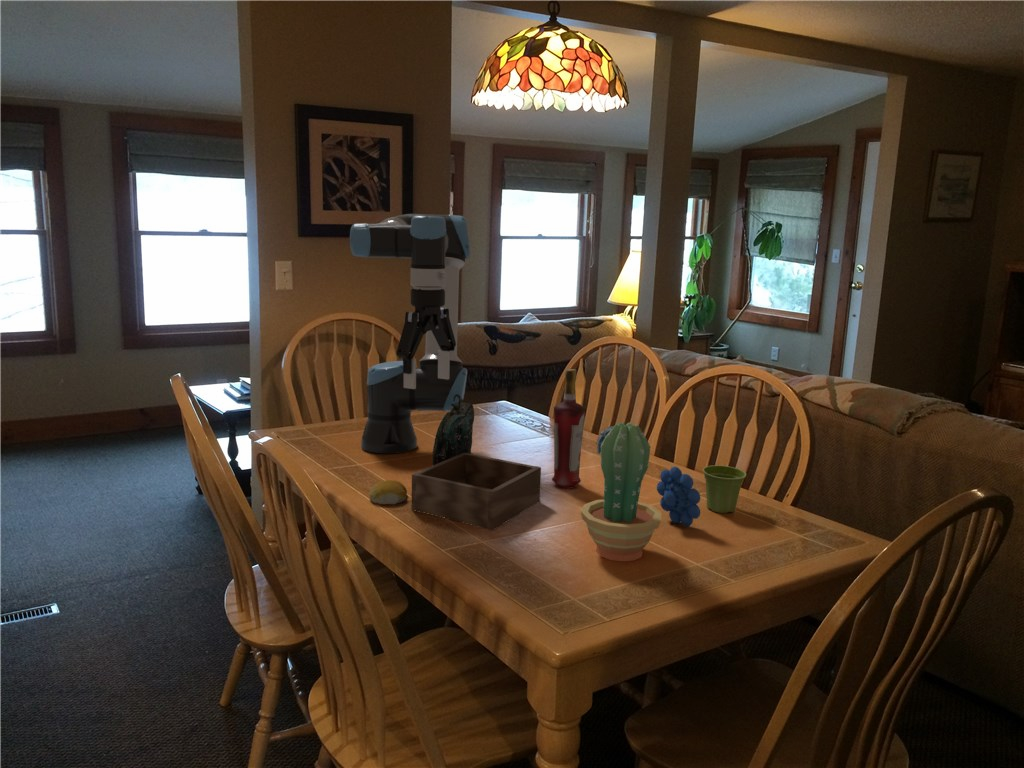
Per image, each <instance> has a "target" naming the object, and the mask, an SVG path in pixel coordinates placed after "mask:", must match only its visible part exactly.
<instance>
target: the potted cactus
mask: <svg viewBox="0 0 1024 768" xmlns="http://www.w3.org/2000/svg"><path fill="white" fill-rule="evenodd" d="M595 444H596V445H597V446H596V447H597V450H596V452H597V454H598V455H600V467H601V471H602V475H603V478H604V479H603V480H604V485H603V486H604V487H603V490H604V491H603V499H595V500H593V501H590V502H587V503H585V504H584V503H583V506H582V508H581V510H580V514H581V519H582V520H583V521H584V523H585V525H586V527H587V530H588V535H589V536H590V537H591V539H592V540H593V542H594V543H595V545H596V550H595V552H596V553H597V554H598V555H599V556H600V557H602V558H605V559H607V560H610V561H616V562H617V561H618V562H631V561H636V560H638V559H640V558H642V557H643V552H644V551H643V549H644V548H645V547H646V546H647V545H648V543H650V541H651V539H652V536H653V534H654V532H655V529H658V528H659V527H660V523H661V520H662V515H663V513H662V512H661V511H660V510H658V508H656V507H655V506H654V505H651V504H647V503H644V502H641V501H639V499H640V493H641V489H642V488H641V487H642V482H643V480H644V477H645V476H646V473H647V471H648V468H649V461H650V454H651V445H650V442H649V440H648V439H647V436H646V435H645V434H644V433H643V431H642V429H641V427H640V426H639V424H635V425H634V424H633V422H627V423H626V424H625V423H623V422H618V423H615V425H612V426H608V427H607V428H606V429H605V428H604V429H603V430H602V431H601V432H600V433H599V435H598V437H597V439H596V443H595Z"/></svg>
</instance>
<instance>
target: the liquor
mask: <svg viewBox="0 0 1024 768" xmlns="http://www.w3.org/2000/svg"><path fill="white" fill-rule="evenodd" d="M564 372H565V374H564V378H565V379H564V380H565V386H564V393H563V401H561V402H559V403H558V404H556V405H555V406H554V407H553V444H554V445H553V447H554V449H553V450H554V451H553V454H554V457H553V462H554V463H553V464H554V465H553V467H554V468H553V475H552V478H551V480H552V482H553V483H554V484H555V485H556V486H557V487H559V488H561V489H563V488H564V489H572V488H575V487H576V486H577V485H578V484H580V483H581V482H582V481H581V478H580V467H581V466H580V465H581V455H582V445H583V435H584V426H585V425H584V424H585V423H584V422H585V414H586V413H585V412H586V408H585V407H584V406H583V405H582V404H580V403H578V402H577V398H576V397H577V394H576V393H577V392H576V380H577V375H578V374H577V373H578V370H577V369H574V368H573V369H572V368H567V369H565V370H564Z"/></svg>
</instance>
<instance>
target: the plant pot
mask: <svg viewBox="0 0 1024 768" xmlns="http://www.w3.org/2000/svg"><path fill="white" fill-rule="evenodd" d="M702 472H703V475H704V479H705V489H706V491H705V492H706V494H705V495H706V507H707V509H710V510H711V511H713V512H714V513H721V514H727V513H733V512H735V511H736V508H737V503H738V499H739V496H740V491H741V486H742V484H743V482H744V480H745V478H746V477H747V473H746V471H744V470H742V469H740V468H738V467H734V466H728V465H719V464H715V465H707V466H705V467H703V468H702Z"/></svg>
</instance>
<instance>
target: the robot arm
mask: <svg viewBox="0 0 1024 768" xmlns="http://www.w3.org/2000/svg"><path fill="white" fill-rule="evenodd" d="M468 231H469V230H468V221H467V219H466V217H465V216H463V215H459V214H457V215H455V214H449V213H448V214H431V213H430V214H429V213H428V214H427V213H426V214H425V213H406V214H405V213H404V214H401V215H400V214H399V215H396V216H391V217H388V218H385V219H383V220H382V221H381V222H379V223H366V222H364V223H353V224H352V225H351V227H350V230H349V247H350V252H351V254H352V256H354V257H358V258H359V257H360V258H366V259H367V258H389V259H391V258H397V259H398V258H399V259H410V278H409V280H410V282H409V283H410V286H411V287H412V288H411V289H410V305H411V306H413V307H414V312H413V311H406V312H405V316H404V325H403V328H402V330H401V335H400V338H399V342H398V346H397V348H396V352H395V354H396V356H397V357H398V359H399V358H400V359H402V360H394V361H385V362H381V363H376V364H374V365H372V366H371V367H370V368H369V369H368V370H367V382H366V386H367V392H366V393H367V395H366V396H367V397H366V398H367V420H366V424H365V427H364V430H363V434H362V436H361V439H360V441H361V442H360V446H361V449H362V450H364V451H365V452H368V453H369V452H370V453H372V454H373V453H374V454H385V455H386V454H389V455H390V454H391V455H393V454H403V453H407V452H410V451H413V450H415V449H417V447H418V438H417V435H416V433H415V429H414V425H413V422H412V419H411V418H412V417H411V414H412V413H411V411H434V412H435V411H436V412H438V411H439V412H441V411H442V412H447V411H448V412H450V411H451V408H452V405H451V404H455V403H457V402H458V403H459V398H458V396H456V398H455V401H453V396H454V395H455V394H458V395H459V396H460V397H461V398H462V399H463V400H464V399H465V397H464V396H465V392H466V387H467V386H466V385H467V377H468V369H467V368H465V367H463V361H462V360H461V359H460V358H459V356H458V329H459V328H458V327H459V321H458V320H459V294H460V293H459V292H460V291H459V290H460V288H459V286H460V284H459V283H460V282H459V281H460V271H461V269H462V268H463V267H464V266H465V265H466V260H467V259H470V258H471V251H470V243H469V242H470V241H469V232H468ZM424 335H425V351H424V353H425V354H424V356H423V357H422V358H421V359H419V362H418V363H419V364H418V366H417V358H414V357H415V355H416V353H417V350H418V349H419V347H420V344H421V342H422V339H423V338H424Z"/></svg>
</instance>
